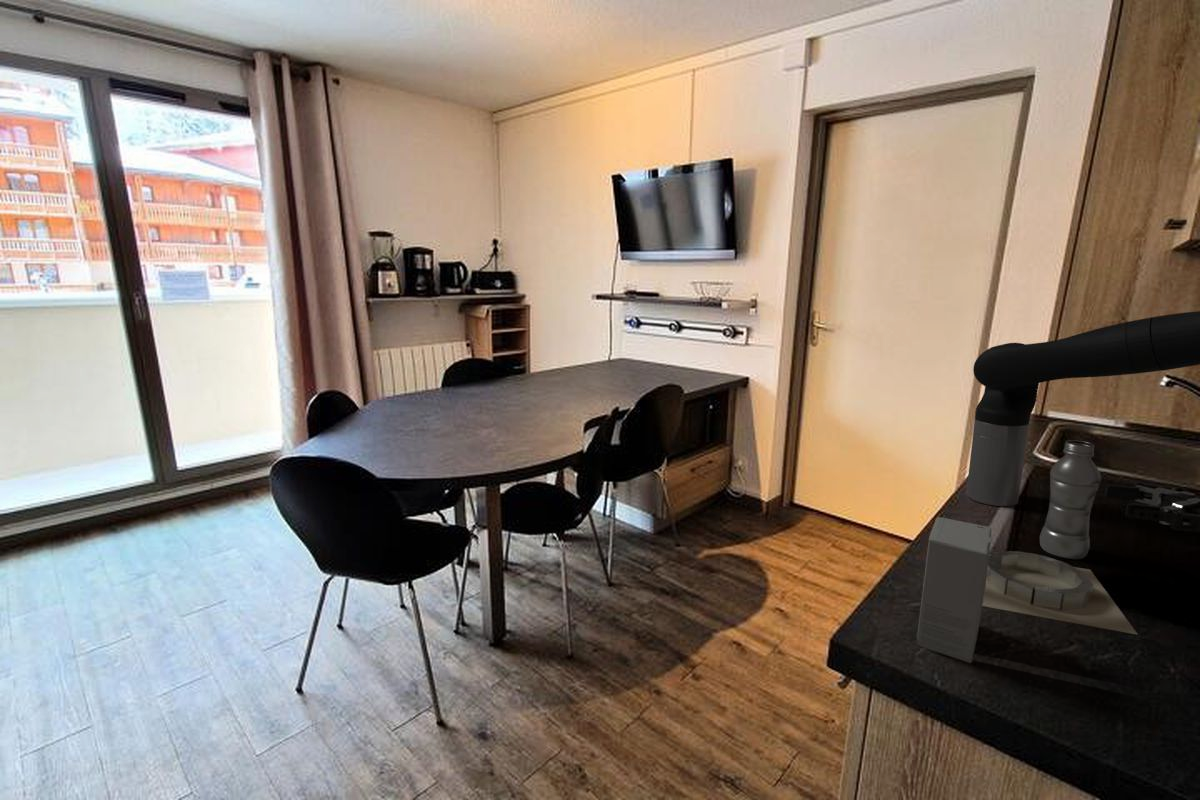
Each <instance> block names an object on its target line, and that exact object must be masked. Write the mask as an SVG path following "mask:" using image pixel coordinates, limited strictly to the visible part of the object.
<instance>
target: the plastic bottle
mask: <svg viewBox="0 0 1200 800" xmlns="http://www.w3.org/2000/svg"><path fill="white" fill-rule="evenodd" d="M1094 449H1095V444H1093V443H1091V442H1088V441H1083V440H1075V439H1073V440H1072V439H1068V440H1066V441H1065V443H1064V448H1063V451H1062V453H1063V454H1064V456H1062V457H1061V458H1059V459H1058V460H1057V461H1056V462H1055V463H1054V464H1053V465H1052V467H1051V469H1050V471H1049V473H1050V474H1049V479H1050V480H1049V483H1050V485H1049V486H1050V494H1049V495H1050V496H1049V505H1048V511H1047V514H1046V519H1045V523H1044V525H1043V527H1042V528H1041V532H1040V535H1039V545H1040V547H1041V548H1042V550H1043V551H1045V552H1046V553H1048V554H1051V555H1053V556H1056V557H1059V558H1064V559H1069V560H1082V559H1084V558H1085V557H1087V555H1088V553H1089V550H1090V547H1091V545H1090V543H1091V542H1090V541H1091V540H1090V534H1089V533H1090V516H1091V512H1092V510H1091V509H1093V504H1094V500H1095V498H1096V495H1097V492H1098V489H1099V487H1100V484H1101V481H1102V476H1101V472H1100V470H1099V469H1098V466H1097V465H1096V464H1095V463H1094V462H1093V460H1092V458H1094V456H1095V453H1094V451H1095V450H1094Z"/></svg>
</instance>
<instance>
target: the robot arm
mask: <svg viewBox="0 0 1200 800" xmlns="http://www.w3.org/2000/svg"><path fill="white" fill-rule="evenodd" d="M1199 365H1200V310H1197V311H1187V312H1179V313H1171V314H1170V313H1169V314H1164V315H1156V316H1151V317H1146V318H1141V319H1135V320H1129V321H1124V322H1120V323H1116V324H1112V325H1107V326H1102V327H1098V328H1096V329H1091V330H1088V331H1084V332H1081V333H1078V334H1074V335H1071V336H1068V337H1065V338H1064V337H1063V338H1059V339H1056V340H1049V341H1044V342H1035V343H1028V344H1025V343H1021V342H1009V343H1008V342H1007V343H1004V344H999V345H994V346H991V347H990V348H987V349H985V350H984V351H983V352H982V353H980V355H979V356H978V357H977V358H976V360H975V362H974V364H973V367H972V368H973V371H972V372H973V375H974V378H975V380H976V381H978V383H980V385H982V386H983V387H984V391H983V395H982V397H981V399H980V401H979V402H978V404H977V405H976V408H975V411H974V412H975V413H974V422H973V431H972V440H971V450H970V457H969V458H970V459H969V464H968V465H969V466H968V467H969V468H968V473H967V474H968V475H967V482H966V483H967V485H966V492H965V494H966V496H967V497H968V498H969V499H970V500H973V501H974V502H978V503H980V504H983V505H984V504H985V505H990V506H996V507H1013V506H1016V505H1019V502H1020V501H1019V498H1020V493H1021V487H1022V486H1021V485H1022V478H1023V471H1024V464H1025V458H1026V449H1027V442H1028V434H1029V427H1030V419H1031V415H1032V413H1033V411H1034V409H1035V406H1036V402H1037V397H1038V391H1039V384H1040V383H1046V382H1050V381H1058V380H1063V379H1064V380H1065V379H1077V378H1078V379H1079V378H1080V379H1081V378H1082V379H1083V378H1099V377H1100V378H1101V377H1102V378H1103V377H1112V376H1113V377H1114V376H1115V377H1116V376H1124V375H1125V376H1126V375H1138V374H1145V373H1152V372H1153V373H1154V372H1159V371H1160V372H1162V371H1170V370H1175V369H1181V368H1188V367H1194V366H1199ZM1147 493H1149V494H1147ZM1104 495H1105V496H1106V498H1107V499H1114V500H1120V501H1121V500H1122V501H1132V502H1133V503H1132V502H1128V503H1127V504H1126V508H1125V512H1124V514H1125V516H1126V517H1128V518H1129V519H1136V520H1142V521H1143V520H1144V521H1154V522H1159V523H1160V524H1162V525H1167V526H1170V527H1169V528H1170V529H1171V530H1174V531H1180V532H1181V531H1182V532H1191V533H1200V496H1199V495H1196V494H1195V493H1192V492H1188V491H1186V488H1185V487H1183V486H1175V485H1166V484H1157V483H1156V484H1155V483H1149V482H1148V483H1147V482H1135V486H1129V485H1121V484H1120V485H1117V484H1107V485H1106V486H1105V493H1104ZM1134 502H1138V503H1134Z"/></svg>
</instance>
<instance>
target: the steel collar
mask: <svg viewBox="0 0 1200 800" xmlns="http://www.w3.org/2000/svg"><path fill="white" fill-rule="evenodd" d="M1074 567H1075V566H1072V565H1071V564H1069V563H1066V562H1064V561H1061V560H1057V559H1056V558H1055V559H1054V558H1051V557H1049V556H1045V555H1042V554H1038V553H1033V552H1024V551H1019V550H1015V551H1014V550H1009V551H1008V550H1006V551H996V552H993V553H991V555H990V556H989V561H988V570H987V579H986V580H987V582H988V583H989V584H990V585H991V586H993V587H994V588H996V589H997V590H998V591H1000V592H1001V593H1003V594H1006V596H1009V597H1012V598H1014V599H1017V600H1019V601H1022V602H1025V603H1027V604H1030V605H1031V604H1033V605H1034V606H1039V607H1045V608H1050V609H1056V610H1060V609H1061V610H1072V609H1082V608H1084V607H1085V606H1086V605H1087V604H1088V603H1089V602H1090V601H1091V596H1092V590H1093V583H1092V582H1091V580H1090V579H1089V578H1088V576H1087V575H1086V574H1085V573H1083V572H1082V571H1080V570H1078V569H1076V568H1074ZM1007 569H1021V570H1027V571H1033V572H1038V573H1041V574H1044V575H1047V576H1050V577H1053V578H1056V579H1059V580H1060V581H1062V582H1064V583H1065V584H1067V585H1069V586H1070V587H1072V589H1052V588H1046V587H1040V586H1034V585H1031V584H1029V583H1026V582H1023V581H1020V580H1017V579H1015V578H1012V577H1011V576H1009V575H1008V574H1006V573H1005V572H1003V571H1001V570H1007Z"/></svg>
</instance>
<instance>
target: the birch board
mask: <svg viewBox="0 0 1200 800" xmlns="http://www.w3.org/2000/svg"><path fill="white" fill-rule="evenodd" d="M991 554H992V553H991ZM991 554H990V553H989V556H990V555H991ZM1073 567H1074V568H1076V569H1078V570H1080V571H1082V572H1083V573H1085V574H1086V575H1087V576H1088V578H1089V579H1090V580H1091V582H1092V583H1093V590H1092V596H1091V601H1090V602H1089V603H1088V604H1087V605H1086V606H1085V607H1084V608H1082V609H1072V610H1061V609H1060V610H1056V609H1050V608H1045V607H1039V606H1034V605H1033V604H1031V605H1030V604H1027V603H1025V602H1022V601H1019V600H1017V599H1014V598H1012V597H1009V596H1006V594H1003V593H1001V592H1000V591H998V590H997V589H996V588H994V587H993V586H991V585H990V584H989V583H988V582H987V580H986V586H985V593H984V599H983V605H982V607H986V608H991V609H996V610H997V609H998V610H1001V611H1002V610H1003V611H1006V612H1007V611H1008V612H1013V613H1018V614H1023V615H1028V616H1033V617H1034V616H1035V617H1039V618H1040V617H1041V618H1043V619H1044V618H1045V619H1050V620H1056V621H1060V622H1061V621H1062V622H1067V623H1072V624H1078V625H1082V626H1088V627H1094V628H1099V629H1103V630H1104V629H1105V630H1109V631H1116V632H1119V633H1120V632H1121V633H1126V634H1132V635H1135V636H1137V635H1138V633H1137V631H1136V630H1135V628H1134V627H1133V626H1132V624H1131V623H1130V622H1129V620H1128V619H1127V618H1126V616H1125V615H1124V613H1123V612H1122V611H1121V610H1120V608H1119V606H1118V605H1117V604H1116V603H1115V601H1114V600H1113V598H1112V597H1111V596H1110V594H1109V593H1108V591H1106V589H1105V588H1104V587H1103V585H1102V584H1101V582H1100V581H1099V580H1098V579H1097V577H1096V576H1095V574H1094V572H1092V570H1091V569H1089V568H1081V567H1075V566H1073ZM1001 571H1003V572H1005V573H1006V574H1008V575H1009V576H1011V577H1012V578H1015V579H1017V580H1020V581H1023V582H1026V583H1029V584H1031V585H1034V586H1040V587H1046V588H1052V589H1072V587H1070V586H1069V585H1067V584H1065V583H1064V582H1062V581H1060V580H1059V579H1056V578H1053V577H1050V576H1047V575H1044V574H1041V573H1038V572H1033V571H1027V570H1021V569H1007V570H1001ZM1138 636H1139V635H1138Z"/></svg>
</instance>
